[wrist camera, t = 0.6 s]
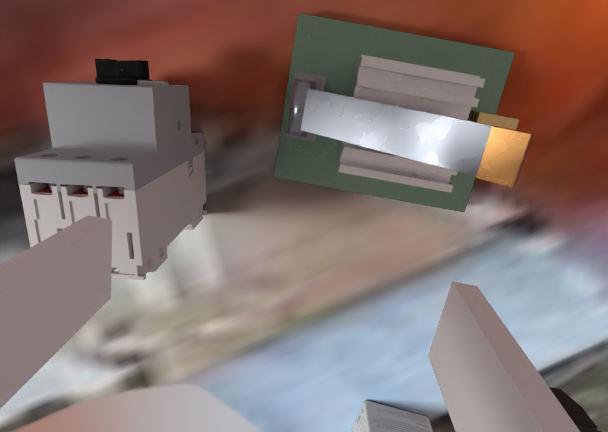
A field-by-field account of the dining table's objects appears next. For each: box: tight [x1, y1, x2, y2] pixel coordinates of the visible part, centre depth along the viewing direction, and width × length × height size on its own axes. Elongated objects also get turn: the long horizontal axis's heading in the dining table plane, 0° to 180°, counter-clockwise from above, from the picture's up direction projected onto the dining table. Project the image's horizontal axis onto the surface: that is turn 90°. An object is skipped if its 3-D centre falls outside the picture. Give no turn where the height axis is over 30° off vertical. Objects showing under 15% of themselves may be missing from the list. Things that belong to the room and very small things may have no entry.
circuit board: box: [274, 13, 519, 212], centre depth 34 cm, size 18×14×7 cm
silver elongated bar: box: [286, 79, 533, 187], centre depth 27 cm, size 16×4×2 cm, turn 80°
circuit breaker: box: [14, 59, 207, 280], centre depth 33 cm, size 8×14×15 cm, turn 178°
